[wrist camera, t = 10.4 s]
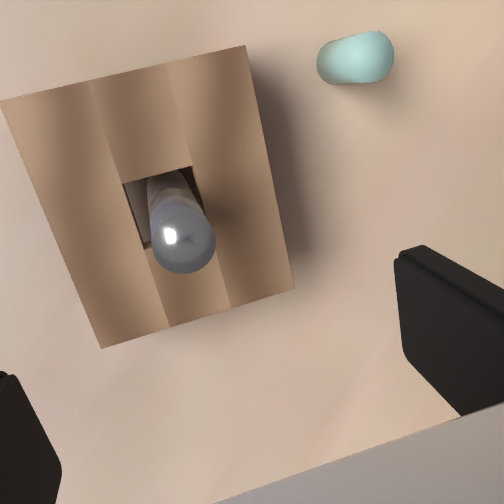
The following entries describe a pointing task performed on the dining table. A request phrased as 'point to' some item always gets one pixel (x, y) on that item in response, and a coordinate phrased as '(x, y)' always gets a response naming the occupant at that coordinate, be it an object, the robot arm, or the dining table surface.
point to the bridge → (149, 164)
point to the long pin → (178, 225)
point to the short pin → (356, 59)
